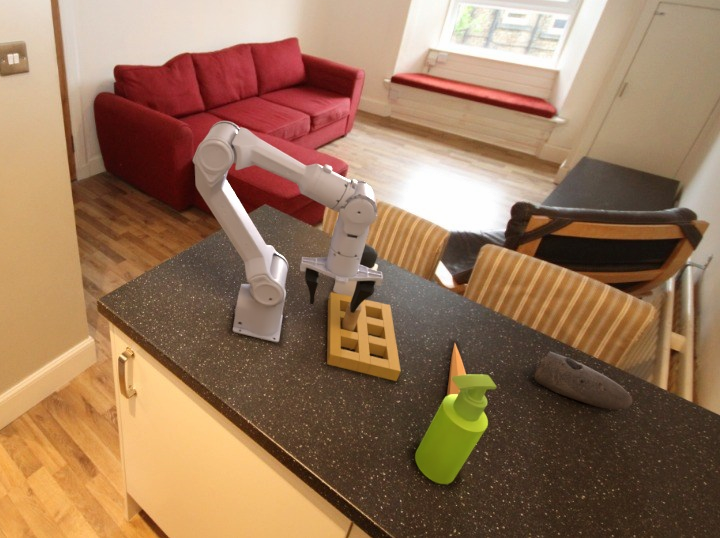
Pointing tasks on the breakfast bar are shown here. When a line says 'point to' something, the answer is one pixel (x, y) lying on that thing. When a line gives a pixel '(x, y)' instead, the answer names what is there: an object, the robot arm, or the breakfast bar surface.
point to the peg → (350, 318)
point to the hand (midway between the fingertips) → (331, 304)
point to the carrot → (455, 371)
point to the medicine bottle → (366, 260)
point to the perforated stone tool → (580, 383)
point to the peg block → (363, 339)
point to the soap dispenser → (455, 429)
